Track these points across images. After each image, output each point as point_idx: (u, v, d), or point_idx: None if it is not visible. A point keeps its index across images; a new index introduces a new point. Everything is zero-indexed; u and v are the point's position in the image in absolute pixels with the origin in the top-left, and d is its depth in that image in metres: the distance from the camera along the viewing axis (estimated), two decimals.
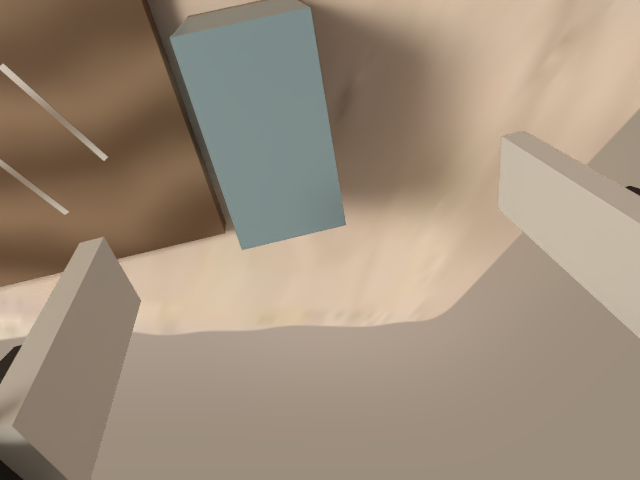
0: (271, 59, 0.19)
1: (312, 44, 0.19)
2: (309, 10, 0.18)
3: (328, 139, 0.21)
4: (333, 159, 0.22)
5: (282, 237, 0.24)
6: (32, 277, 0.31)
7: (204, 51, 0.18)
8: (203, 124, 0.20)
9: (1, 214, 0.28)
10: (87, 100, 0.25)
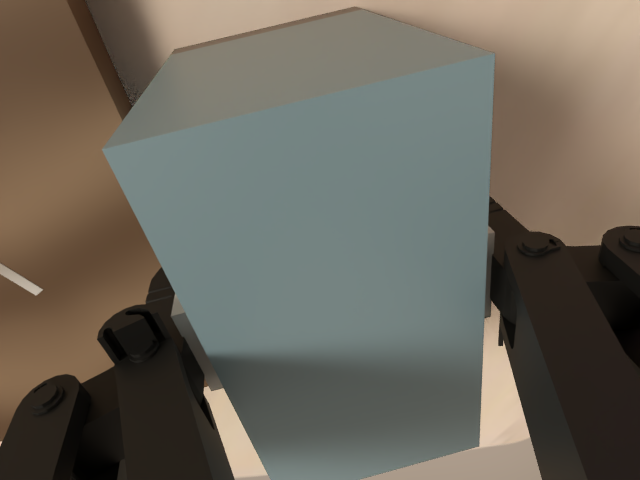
0: (373, 184, 0.07)
1: (482, 144, 0.07)
2: (490, 61, 0.06)
3: (476, 325, 0.10)
4: (479, 357, 0.10)
5: (359, 476, 0.12)
6: None
7: (200, 177, 0.07)
8: (204, 326, 0.08)
9: None
10: None
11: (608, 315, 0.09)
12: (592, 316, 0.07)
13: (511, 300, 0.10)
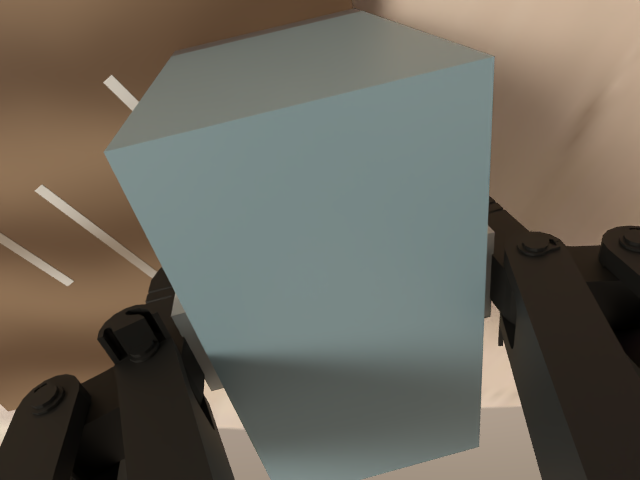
0: (374, 186, 0.07)
1: (482, 145, 0.07)
2: (489, 64, 0.06)
3: (476, 326, 0.10)
4: (479, 357, 0.10)
5: (359, 476, 0.12)
6: None
7: (202, 179, 0.07)
8: (205, 327, 0.08)
9: (86, 300, 0.19)
10: None
11: (608, 315, 0.09)
12: (592, 316, 0.07)
13: (511, 300, 0.10)
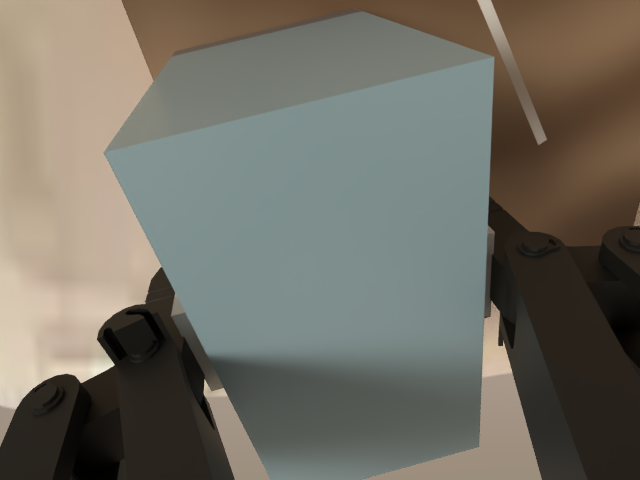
0: (374, 186, 0.07)
1: (482, 146, 0.07)
2: (489, 64, 0.06)
3: (476, 327, 0.10)
4: (478, 358, 0.10)
5: (359, 477, 0.12)
6: None
7: (202, 179, 0.07)
8: (205, 327, 0.08)
9: None
10: (565, 49, 0.16)
11: (607, 315, 0.09)
12: (592, 316, 0.07)
13: (511, 300, 0.10)
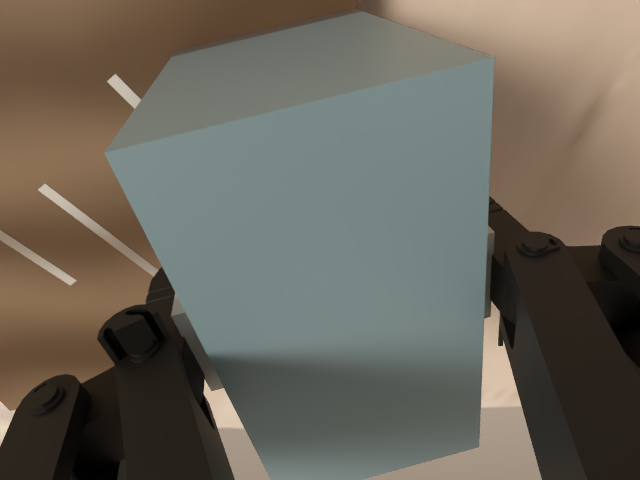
0: (374, 186, 0.07)
1: (482, 146, 0.07)
2: (490, 65, 0.06)
3: (476, 327, 0.10)
4: (479, 358, 0.10)
5: (359, 477, 0.12)
6: None
7: (202, 180, 0.07)
8: (205, 327, 0.08)
9: (89, 299, 0.19)
10: None
11: (607, 315, 0.09)
12: (592, 316, 0.07)
13: (511, 300, 0.10)
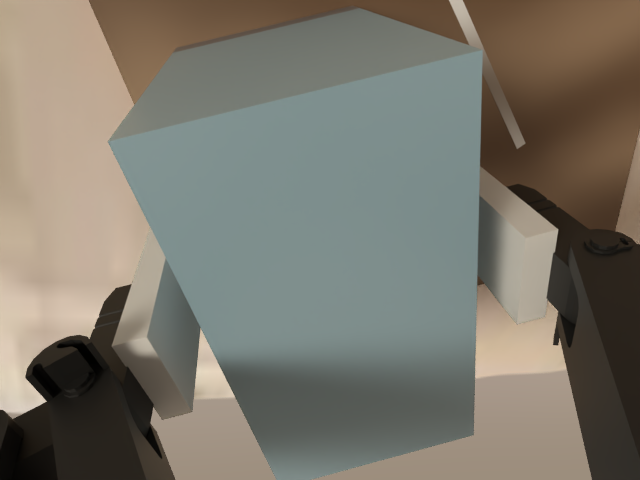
0: (367, 175, 0.08)
1: (472, 136, 0.07)
2: (478, 57, 0.07)
3: (469, 315, 0.10)
4: (472, 345, 0.11)
5: (356, 464, 0.13)
6: None
7: (201, 168, 0.07)
8: (205, 312, 0.09)
9: None
10: (541, 53, 0.16)
11: None
12: None
13: (572, 298, 0.09)
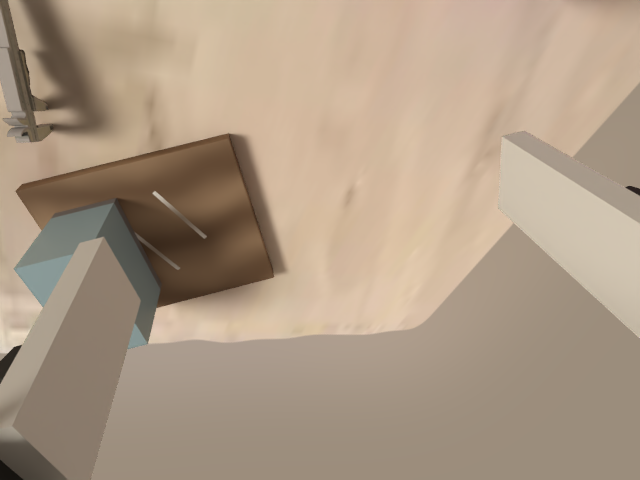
0: None
1: None
2: None
3: None
4: None
5: None
6: None
7: (34, 272, 0.34)
8: (43, 303, 0.35)
9: None
10: (198, 207, 0.43)
11: None
12: None
13: None
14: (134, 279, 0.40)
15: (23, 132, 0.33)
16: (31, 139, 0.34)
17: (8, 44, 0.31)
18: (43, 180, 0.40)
